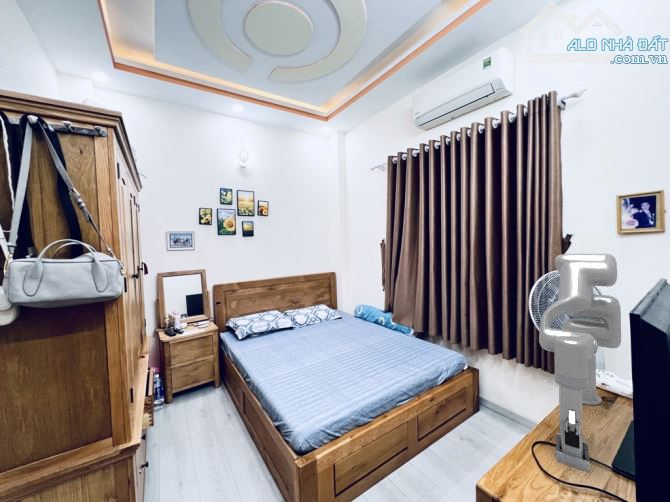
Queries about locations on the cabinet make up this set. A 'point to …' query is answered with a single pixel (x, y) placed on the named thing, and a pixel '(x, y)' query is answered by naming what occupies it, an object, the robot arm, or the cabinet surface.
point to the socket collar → (571, 459)
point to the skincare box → (569, 449)
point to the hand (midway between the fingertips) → (571, 437)
